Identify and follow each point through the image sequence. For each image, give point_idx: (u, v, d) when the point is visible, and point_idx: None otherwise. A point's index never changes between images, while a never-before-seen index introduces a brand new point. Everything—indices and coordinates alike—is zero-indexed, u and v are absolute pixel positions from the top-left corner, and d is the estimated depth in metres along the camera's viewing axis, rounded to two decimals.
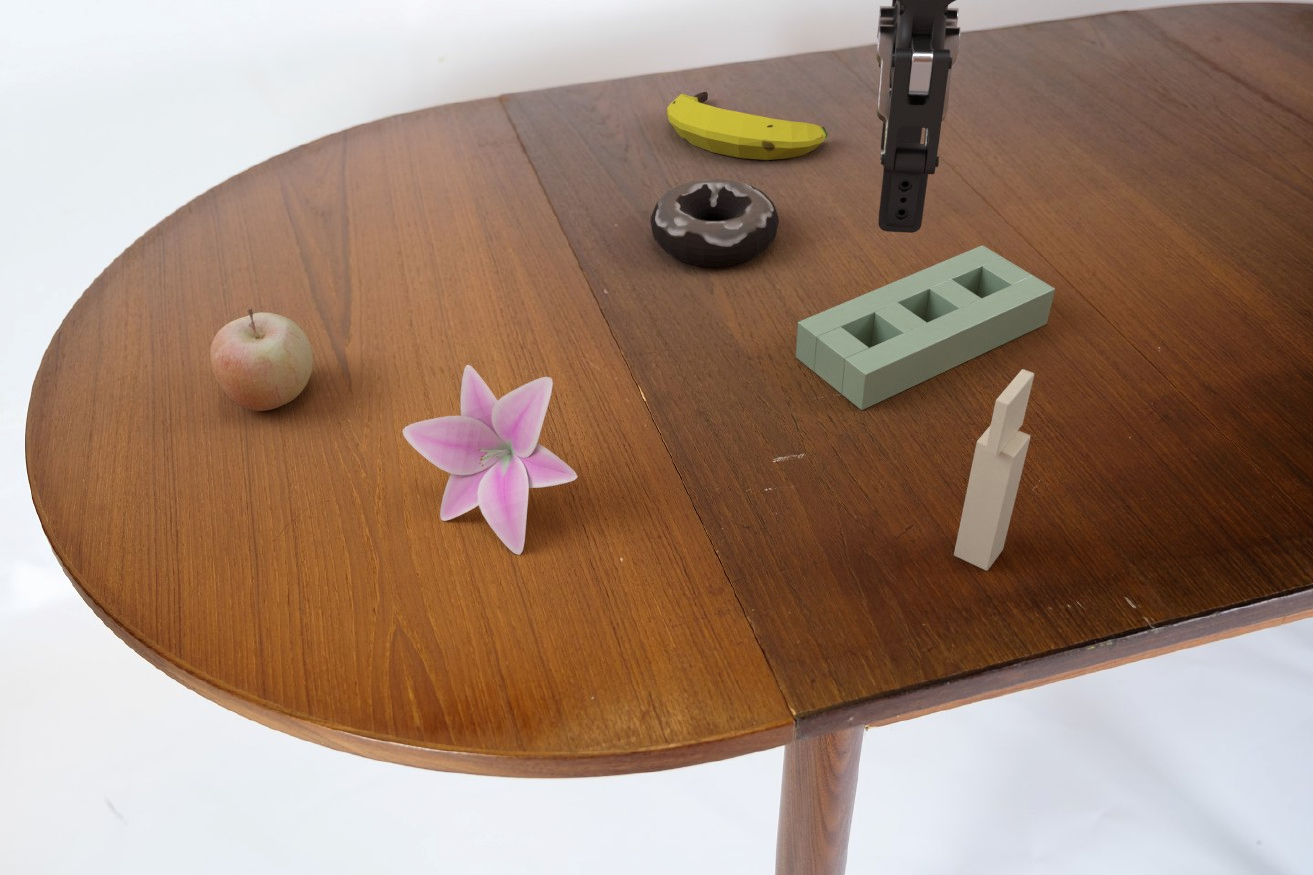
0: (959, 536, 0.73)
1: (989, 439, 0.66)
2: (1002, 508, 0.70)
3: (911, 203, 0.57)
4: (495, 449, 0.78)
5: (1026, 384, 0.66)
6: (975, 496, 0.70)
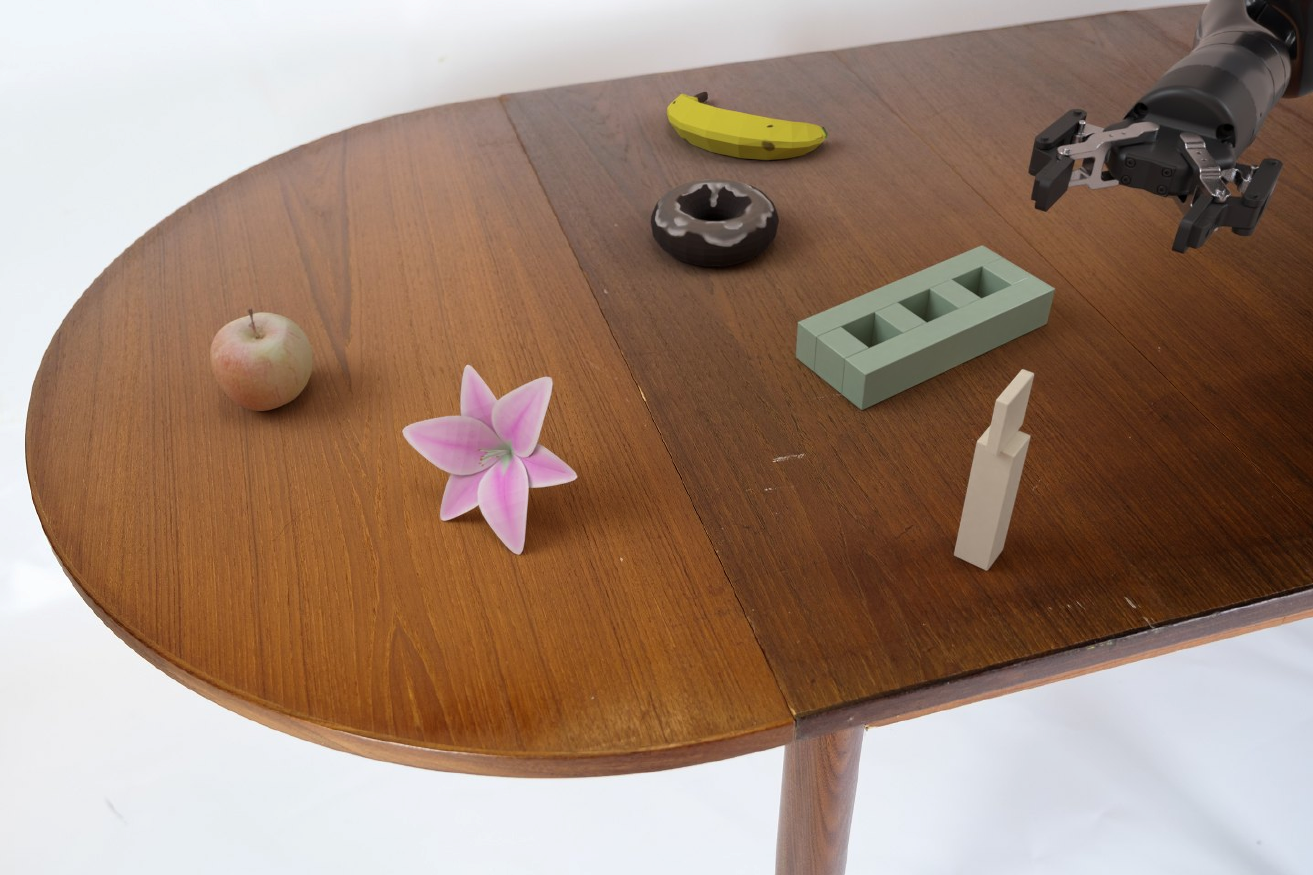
0: (959, 536, 0.73)
1: (989, 439, 0.66)
2: (1002, 508, 0.70)
3: None
4: (495, 449, 0.78)
5: (1026, 384, 0.66)
6: (975, 496, 0.70)
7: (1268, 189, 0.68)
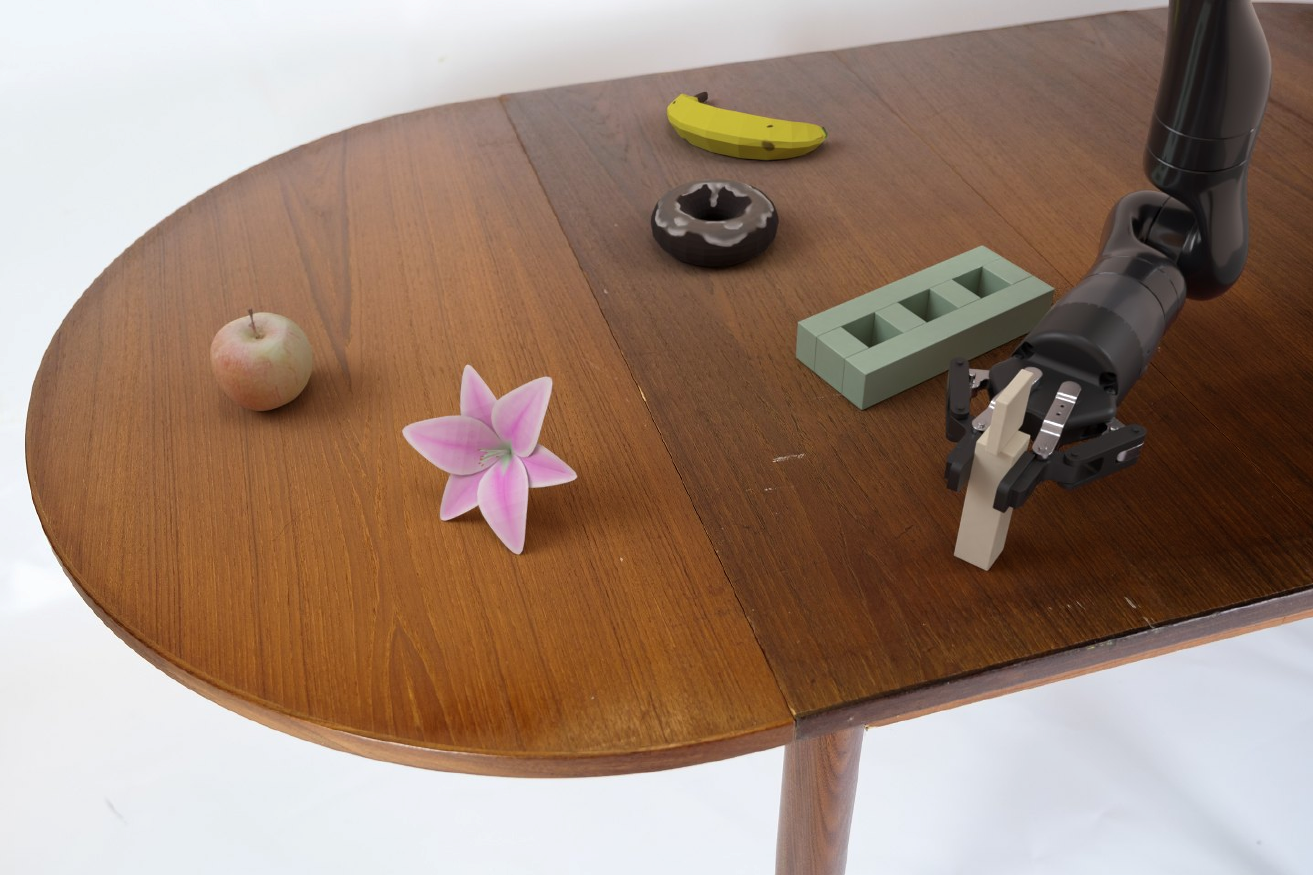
0: (959, 536, 0.73)
1: (989, 439, 0.66)
2: None
3: None
4: (495, 449, 0.78)
5: (1026, 384, 0.66)
6: (975, 496, 0.70)
7: (1096, 453, 0.68)
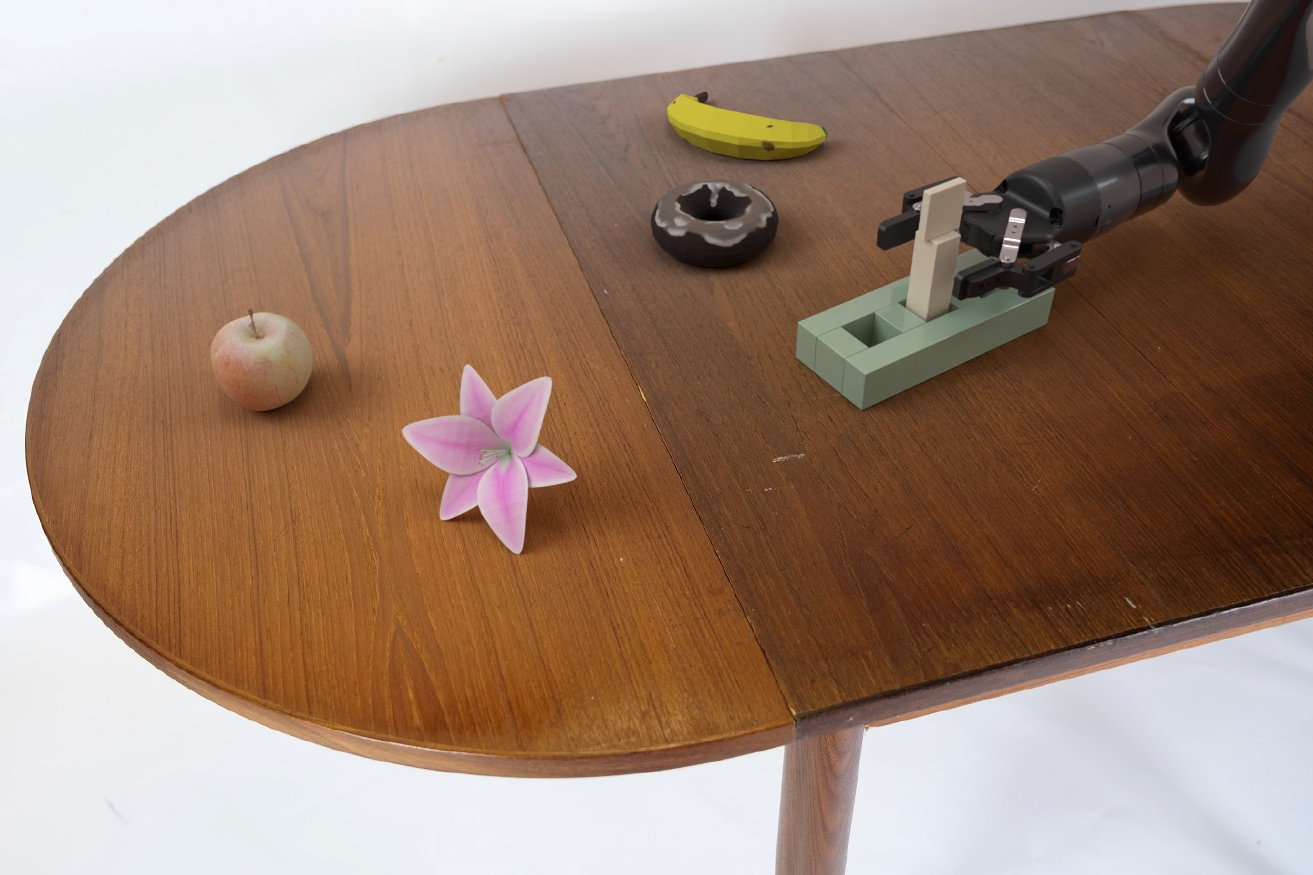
0: None
1: (919, 226, 0.85)
2: (931, 292, 0.87)
3: None
4: (494, 449, 0.78)
5: (955, 186, 0.83)
6: (914, 281, 0.88)
7: (1048, 263, 0.83)
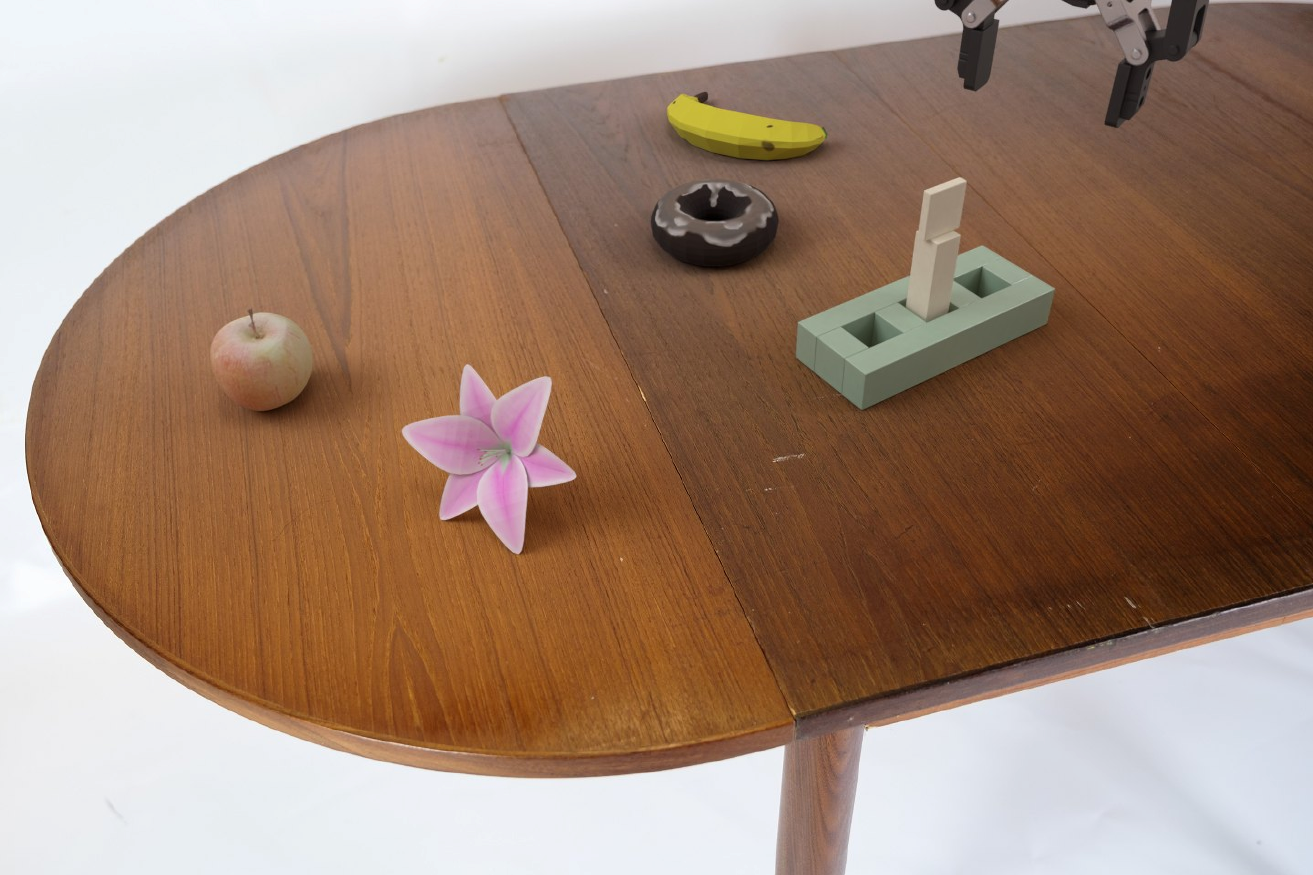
0: None
1: (920, 226, 0.85)
2: (931, 292, 0.87)
3: (961, 50, 0.66)
4: (494, 448, 0.78)
5: (956, 186, 0.83)
6: (914, 281, 0.88)
7: (1189, 28, 0.57)
